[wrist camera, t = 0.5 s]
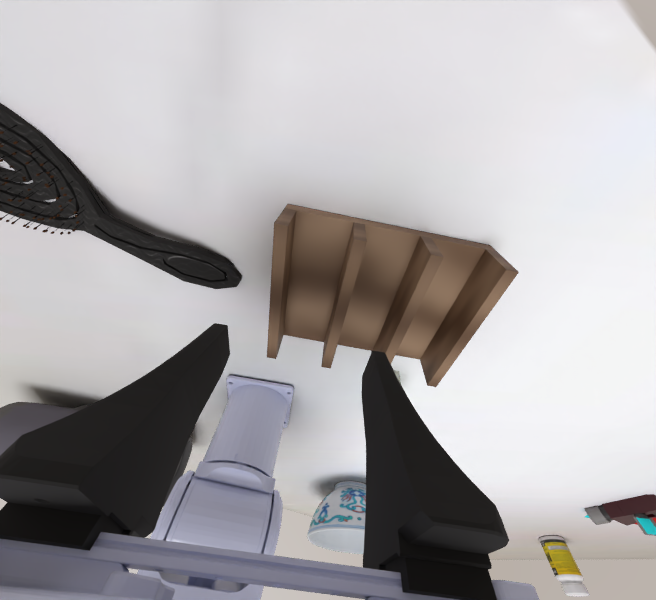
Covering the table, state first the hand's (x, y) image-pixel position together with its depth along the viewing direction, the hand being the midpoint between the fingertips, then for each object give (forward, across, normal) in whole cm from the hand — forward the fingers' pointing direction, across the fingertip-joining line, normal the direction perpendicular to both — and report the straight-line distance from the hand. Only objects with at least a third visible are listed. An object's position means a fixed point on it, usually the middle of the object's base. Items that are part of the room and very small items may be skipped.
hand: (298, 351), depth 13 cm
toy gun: (+11, -60, +36) cm, 71 cm away
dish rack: (+10, -5, +2) cm, 11 cm away
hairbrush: (+11, +18, -1) cm, 21 cm away
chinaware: (+10, -13, +46) cm, 49 cm away
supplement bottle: (+10, -61, +58) cm, 85 cm away
